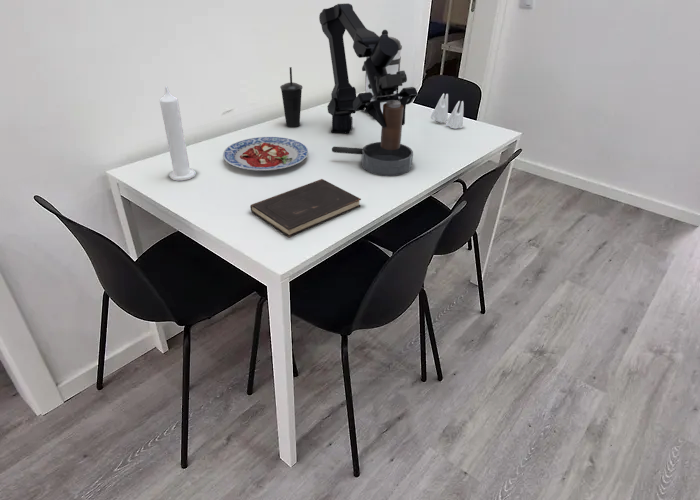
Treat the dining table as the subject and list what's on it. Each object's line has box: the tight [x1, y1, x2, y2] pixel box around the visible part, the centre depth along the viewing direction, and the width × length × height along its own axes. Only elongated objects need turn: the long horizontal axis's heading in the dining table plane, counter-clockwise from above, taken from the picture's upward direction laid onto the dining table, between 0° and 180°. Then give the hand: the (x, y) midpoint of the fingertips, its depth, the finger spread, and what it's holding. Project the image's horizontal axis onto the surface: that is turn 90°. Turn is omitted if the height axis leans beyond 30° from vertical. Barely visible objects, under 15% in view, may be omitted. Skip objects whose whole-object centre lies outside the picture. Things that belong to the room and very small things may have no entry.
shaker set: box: [430, 93, 465, 130], centre depth 175 cm, size 12×4×11 cm, turn 48°
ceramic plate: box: [222, 136, 309, 171], centre depth 149 cm, size 26×26×3 cm
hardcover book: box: [249, 178, 362, 238], centre depth 123 cm, size 16×23×2 cm
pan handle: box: [331, 146, 367, 156], centre depth 147 cm, size 11×2×2 cm, turn 82°
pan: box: [361, 141, 414, 177], centre depth 146 cm, size 15×15×4 cm
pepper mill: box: [380, 100, 404, 150], centre depth 139 cm, size 6×6×13 cm
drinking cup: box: [279, 66, 303, 128], centre depth 169 cm, size 8×8×20 cm
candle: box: [159, 85, 196, 182], centre depth 131 cm, size 7×7×25 cm
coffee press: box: [362, 29, 403, 120], centre depth 180 cm, size 17×16×30 cm
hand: (394, 126), depth 138 cm, fingers closed on pepper mill, 6 cm apart
